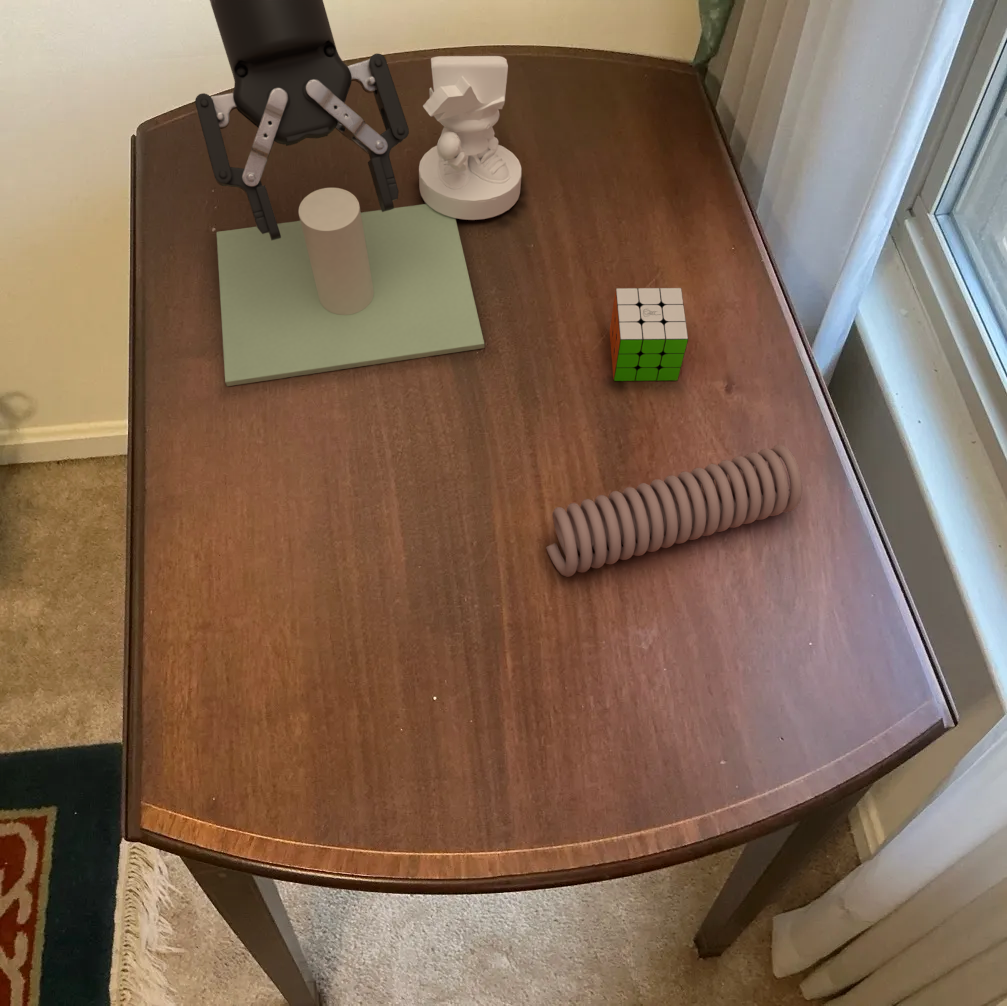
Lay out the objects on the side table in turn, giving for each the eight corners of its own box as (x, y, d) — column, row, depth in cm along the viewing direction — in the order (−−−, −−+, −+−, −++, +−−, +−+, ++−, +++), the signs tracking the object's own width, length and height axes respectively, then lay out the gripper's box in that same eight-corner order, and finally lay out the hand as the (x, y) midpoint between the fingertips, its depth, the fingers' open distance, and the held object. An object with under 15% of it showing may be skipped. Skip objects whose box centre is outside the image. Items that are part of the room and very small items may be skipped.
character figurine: (421, 221, 81) (418, 89, 71) (416, 151, 86) (412, 20, 76) (525, 218, 82) (536, 88, 72) (513, 149, 87) (522, 19, 77)
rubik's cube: (677, 381, 74) (688, 339, 70) (612, 381, 74) (619, 339, 70) (672, 330, 76) (682, 287, 72) (609, 330, 76) (615, 287, 72)
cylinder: (321, 318, 76) (301, 234, 68) (316, 277, 78) (295, 191, 70) (377, 310, 77) (362, 226, 69) (370, 270, 79) (355, 183, 71)
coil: (786, 428, 66) (539, 497, 64) (819, 479, 64) (563, 554, 61) (773, 470, 70) (539, 537, 67) (804, 519, 67) (562, 591, 65)
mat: (226, 386, 74) (224, 382, 73) (218, 236, 81) (216, 231, 81) (484, 348, 75) (484, 343, 75) (451, 205, 83) (451, 200, 83)
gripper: (155, -5, 62) (237, 248, 66) (368, -50, 64) (433, 196, 69) (164, 24, 69) (238, 250, 74) (356, -18, 71) (416, 204, 76)
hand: (333, 224), depth 71 cm, fingers open, 8 cm apart
